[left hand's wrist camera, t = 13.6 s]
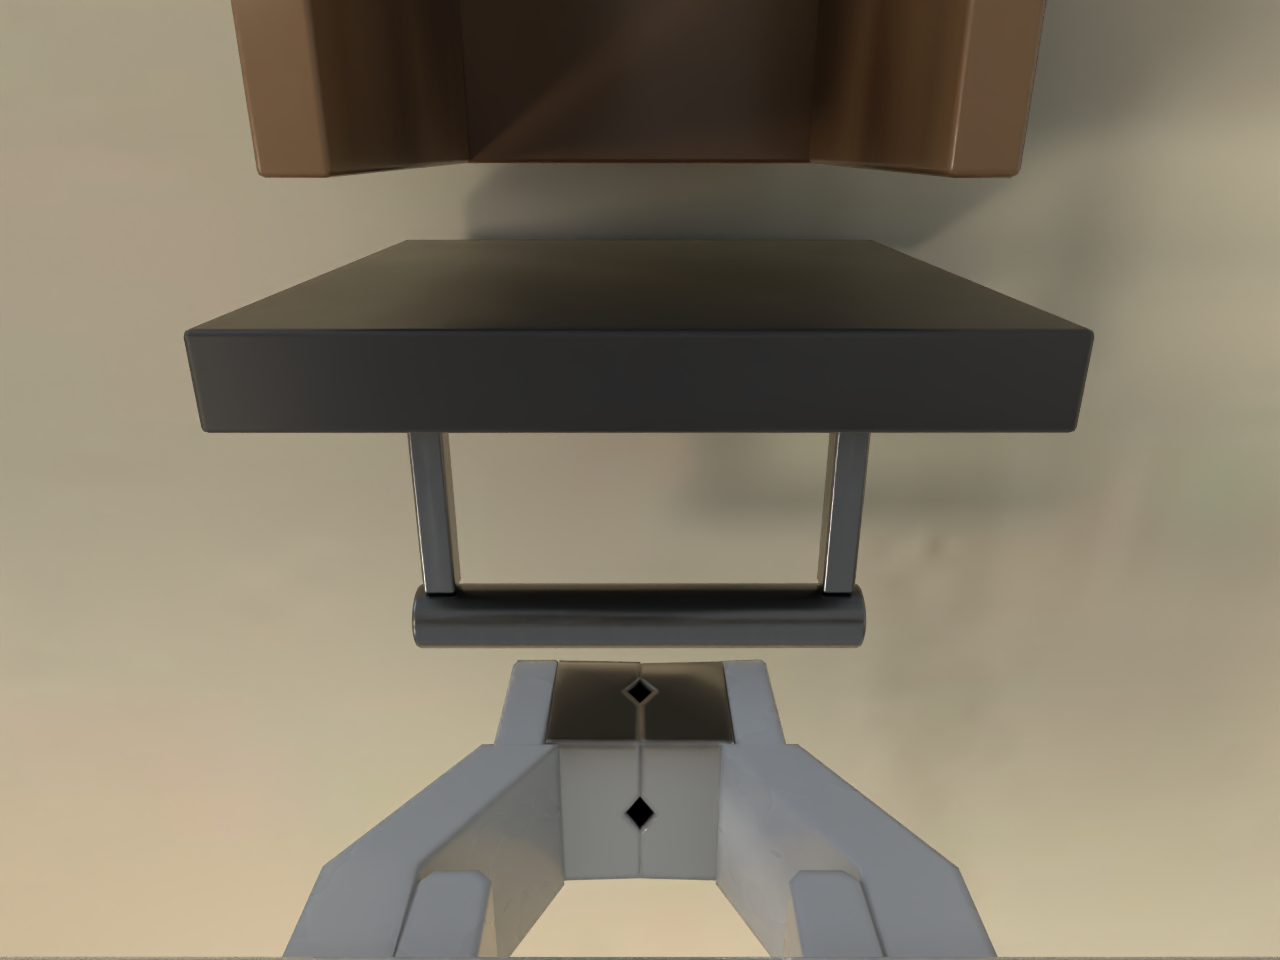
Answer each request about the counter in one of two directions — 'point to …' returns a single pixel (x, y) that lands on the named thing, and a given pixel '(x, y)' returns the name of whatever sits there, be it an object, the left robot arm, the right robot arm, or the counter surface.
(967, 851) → the counter surface
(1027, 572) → the counter surface
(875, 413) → the drawer
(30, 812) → the counter surface
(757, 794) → the left robot arm
